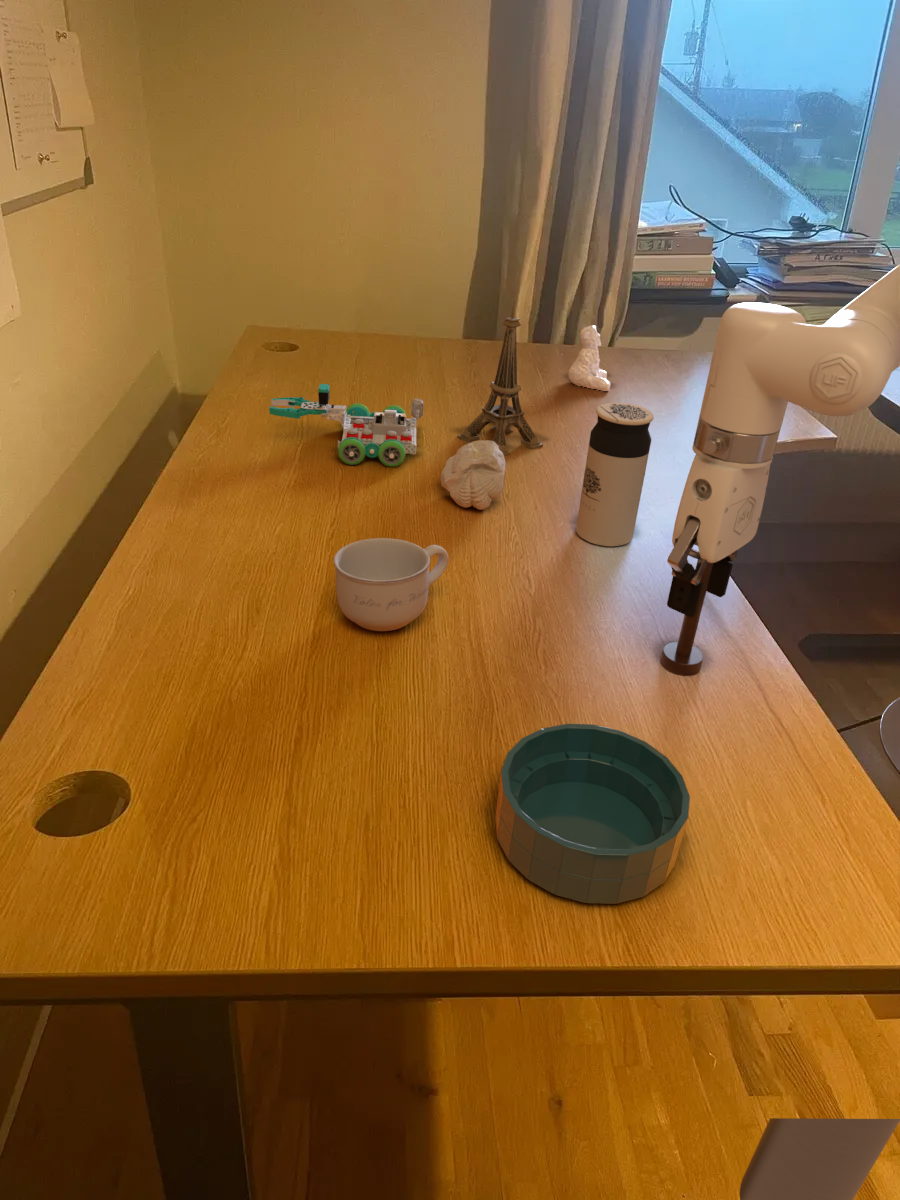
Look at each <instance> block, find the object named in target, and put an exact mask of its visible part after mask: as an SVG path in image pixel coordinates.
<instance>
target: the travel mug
mask: <svg viewBox="0 0 900 1200" xmlns="http://www.w3.org/2000/svg"><path fill="white" fill-rule="evenodd" d="M595 413H596V415H597V422H596V423H595V425H594V426H593V428H591V430H590V436H589V442H588V448H587V453H586V455H587V456H586V462H585V466H584V467H585V468H584V473H583V480H582V487H581V493H580V501H579V505H578V506H579V507H578V513H577V519H576V525H575V526H576V527H575V532H576V534H577V535H578V536H579V537H580V538H581V539H583V540H585V541H586V542H588V543H590V544H593V545H597V546H601V547H602V546H603V547H618V546H623V545H626V544H629V543H630V542H631V541H632V540H633V539H634V533H635V527H636V523H637V518H638V513H639V507H640V503H641V502H640V501H641V497H642V491H643V486H644V480H645V476H646V471H647V465H648V459H649V456H650V449H651V444H652V436H651V434H650V431H649V428H650V425H651V423H652V422H653V421H654V418H655V416H654V414H653V412H652V411H651V410H649V409H647V408H646V407H643V406H640V405H637V404H633V403H628V402H627V403H625V402H606V403H602V404H600V405H598V406H596V409H595Z"/></svg>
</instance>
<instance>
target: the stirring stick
mask: <svg viewBox="0 0 900 1200" xmlns="http://www.w3.org/2000/svg"><path fill="white" fill-rule="evenodd" d="M697 563H698V560H697V561H696V566H697ZM696 566H695V567H696ZM712 567H713V563H709V562H708V563H707V566H706V568H705V571H704V573H703V576H702V578H701V581H700V582H702V583H704V585H703V589H702V593H701V597H700V601H699V605H698V609H697V613H696V615H695V616H693V617H689V616H686V615H684V614H683V620H682V625H681V628H680V632H679V636H678V641H673V642H669V643H667V644H665V645H664V646H663V648H662V650H661V651H662V652H661V656H660V664H661V666H662V667H663V668H664V669H665V670H666V671H668V672H670V673H672V674H675V675H677V676H683V677H685V676H686V677H690V676H694V675H697V674H698V673H699V672H700V671H701V669H702V665H703V661H704V654H703V652H702V651H701V650H700V649H699V648H697V647H696V646H694V642H695V639H696V634H697V630H698V627H699V622H700V618H701V614H702V610H703V607H704V603H705V598H706V594H707V587H708V583H709V579H710V575H711V571H712Z"/></svg>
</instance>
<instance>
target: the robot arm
mask: <svg viewBox="0 0 900 1200" xmlns="http://www.w3.org/2000/svg"><path fill="white" fill-rule="evenodd" d="M898 368H900V263H899V264H898V265H896V266H895V267H894V268H893V269H891V270H890V271H889V272H887V273H886V274H885V275H884V276H882V277H881V278H880V279H878V280H877V281H876V282H875V283H874V284H872V285H871V286H870V287H868V288H867V289H866V290H865V291H863V292H862V293H860V294H859V295H858V296H857V297H855V298H854V299H853V300H851V301H850V302H849V303H848V304H846V305H845V306H844V307H842V308H841V309H840V310H838V311H837V312H836V313H835V314H834V315H832V316H831V317H830V318H829V319H828V320H827V321H825V322H824V323H823V324H821V325H815V324H807V321H806V319H805V317H804V316H803V315H802V314H801V313H800V312H798V311H796V310H794V309H792V308H790V307H786V306H782V305H779V304H774V303H773V304H772V303H766V302H753V301H752V302H741V303H736V304H733V305H732V306H729V307H728V308H727V309H726V310H725V311H724V312H723V314H722V316H721V318H720V321H719V325H718V329H717V334H716V337H715V341H714V348H713V352H712V357H711V361H710V366H709V371H708V376H707V380H706V384H705V389H704V394H703V398H702V403H701V407H700V411H699V416H698V421H697V424H696V429H695V433H694V439H693V443H692V451H693V453H694V454H695V455H694V457H693V460H692V463H691V466H690V469H689V472H688V474H687V478H686V481H685V484H684V488H683V491H682V494H681V497H680V501H679V505H678V509H677V513H676V515H675V516H676V517H675V521H674V526H673V531H672V540H671V541H672V547H673V548H672V550H671V552H670V553H669V555H668V557H667V563H668V565H669V566H670V567H671V576H672V579H671V583H670V588H669V592H668V597H667V601H666V605H667V607H668V608H670V609H671V610H674V611H676V612H678V613H680V614H682V615H683V616H684V615H686V616H689V617H693V616H695V615H696V613H697V609H698V605H699V601H700V597H701V593H702V589H703V585H704V583H702V582H700V581H701V578H702V576H703V573H704V571H705V568H706V566H707V563H708V562H709V563H713V567H712V571H711V575H710V579H709V583H708V587H707V591H706V593H709V594H712V595H714V596H716V597H717V598H723V597H724V596H725V595H726V592H727V589H728V585H729V581H730V578H731V574H732V570H733V566H734V562H735V560H736V559H737V556H738V550H740V549H741V548H742V547H744V546H746V545H747V544H748V543H750V542H751V541H752V540H753V539H754V537H755V536H756V535H757V532H758V529H759V524H760V520H761V515H762V512H763V506H764V502H765V497H766V492H767V487H768V482H769V478H770V477H769V476H770V469H771V464H772V462H773V458H774V454H775V451H776V447H777V444H778V440H779V436H780V433H781V429H782V425H783V421H784V418H785V414H786V410H787V407H788V403H791V404H793V405H795V406H799V407H800V408H803V409H806V410H808V411H811V412H814V413H817V414H820V415H824V416H829V417H847V416H852V415H855V414H858V413H861V412H863V411H864V410H866V409H868V408H870V406H871V405H873V404H874V403H875V402H876V401H877V400H878V398H879V397H880V396H881V394H882V393H883V391H884V389H885V388H886V386H887V384H888V382H889V380H890V378H891V375H892V373H893V372H894V371H895V370H897V369H898ZM694 546H697V548H698V550H697V549H694ZM688 557H691V558H694V559H696V560H697V561H698V563H697V562H696V565H697V566H695V567H694V566H693V564H692V563H689V561H688Z"/></svg>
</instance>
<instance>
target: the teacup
mask: <svg viewBox="0 0 900 1200" xmlns="http://www.w3.org/2000/svg"><path fill="white" fill-rule="evenodd" d="M435 555H437V557H438V558H437V562H436V564H435V566H433V568H432V569H431V570H430V565H431V559H432V557H433V556H435ZM448 565H449V554H448V552H447V551H446V549H445V548H444V547H443V546H441V545H439V544H430V545H428V546H426V547H425V548H423V547H421V546H420V545H418V544H416V543H414V542H411V541H408V540H405V539H400V538H391V537H390V538H389V537H375V538H366V539H361V540H357V541H353V542H351V543H349V544H346V545H344V546H343V547H341V548H339V550H337V552H336V553H335V554H334V556H333V566H334V572H335V575H334V576H335V591H336V599H337V604H338V607H339V609H340V611H341V612H342V614H343V615H344V616H345V617H346V618H347V619H349V620H350V621H351V622H353V623H355V624H356V625H358V626H359V627H361V628H363V629H366V630H369V631H372V632H373V631H374V632H390V631H396V630H399V629H402V628H404V627H405V626H407V625H409V624H410V623H411V622H413V621H415V620H416V619H417V618H418V617H419V616H420V615H421V614H422V613H423V612H424V610H425V608H426V607H427V602H428V597H429V588H430V586H431V585H433V584H434V583H435V582H436V581H437V580H438V579H439V578H440V577H442V575H443V574H444V573H445V572H446V570H447V568H448Z"/></svg>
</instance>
